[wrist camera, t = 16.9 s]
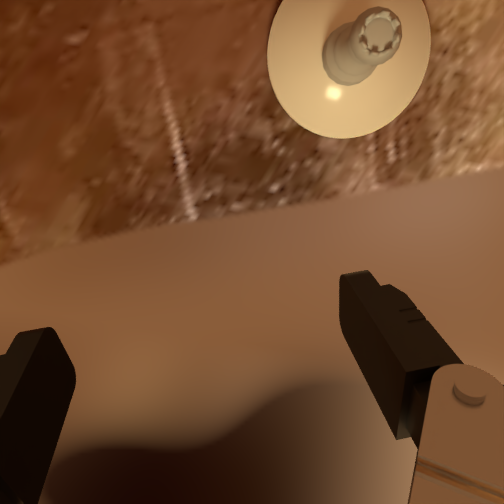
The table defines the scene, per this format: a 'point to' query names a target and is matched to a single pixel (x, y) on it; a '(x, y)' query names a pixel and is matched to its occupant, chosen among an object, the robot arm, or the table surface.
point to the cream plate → (325, 89)
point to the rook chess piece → (361, 46)
